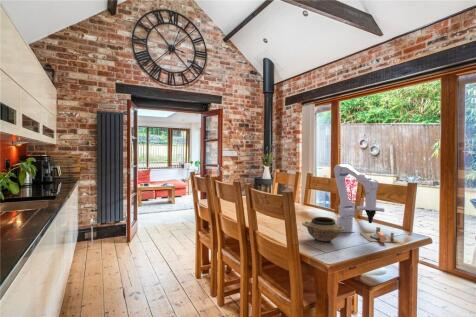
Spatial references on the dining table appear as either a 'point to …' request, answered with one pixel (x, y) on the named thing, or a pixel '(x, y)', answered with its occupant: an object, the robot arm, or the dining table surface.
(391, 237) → the dowel pin
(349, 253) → the dining table surface
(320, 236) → the ceramic bowl
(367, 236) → the board
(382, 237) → the pink irregular piece
